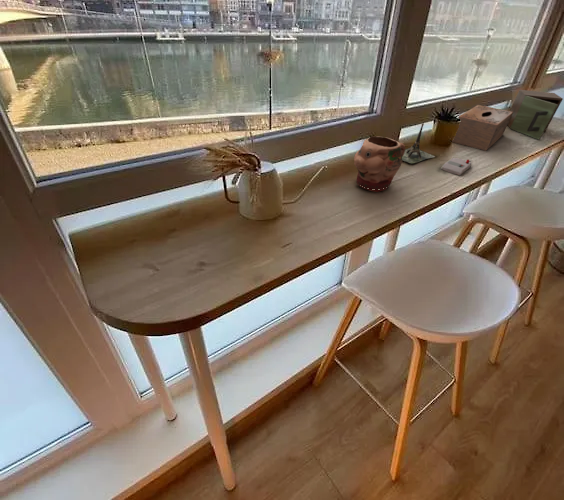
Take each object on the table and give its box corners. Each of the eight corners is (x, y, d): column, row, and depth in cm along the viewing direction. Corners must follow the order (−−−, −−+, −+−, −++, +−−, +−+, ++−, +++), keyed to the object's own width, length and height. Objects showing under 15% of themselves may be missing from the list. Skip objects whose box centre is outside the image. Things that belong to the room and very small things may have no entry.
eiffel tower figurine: (413, 148, 129) (423, 112, 120) (435, 156, 123) (448, 120, 114) (388, 155, 122) (397, 119, 113) (411, 165, 115) (422, 127, 107)
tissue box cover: (486, 150, 129) (497, 125, 123) (449, 141, 136) (458, 116, 130) (502, 135, 144) (513, 111, 138) (469, 127, 152) (477, 104, 145)
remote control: (438, 170, 113) (441, 162, 111) (455, 158, 122) (459, 150, 120) (457, 177, 109) (461, 168, 107) (474, 164, 118) (477, 156, 116)
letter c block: (528, 140, 140) (546, 105, 131) (500, 129, 150) (515, 96, 142) (539, 139, 142) (558, 104, 133) (511, 128, 152) (526, 95, 143)
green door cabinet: (544, 132, 150) (563, 98, 141) (510, 128, 153) (525, 95, 144) (537, 125, 158) (554, 92, 149) (504, 121, 161) (519, 89, 152)
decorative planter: (380, 169, 112) (389, 128, 103) (410, 182, 105) (423, 140, 96) (339, 184, 102) (346, 140, 93) (369, 200, 95) (380, 154, 86)
